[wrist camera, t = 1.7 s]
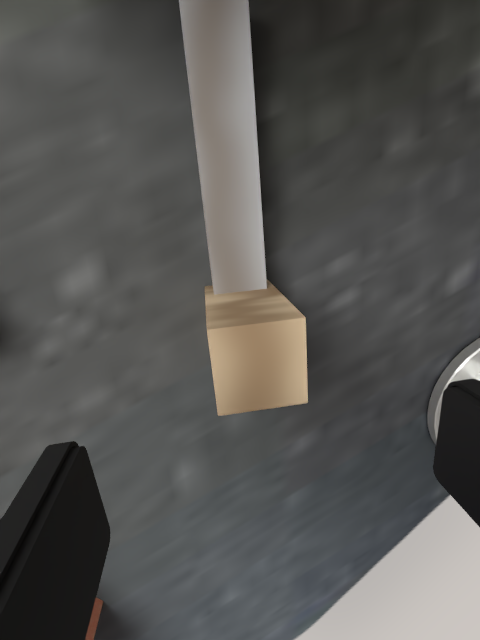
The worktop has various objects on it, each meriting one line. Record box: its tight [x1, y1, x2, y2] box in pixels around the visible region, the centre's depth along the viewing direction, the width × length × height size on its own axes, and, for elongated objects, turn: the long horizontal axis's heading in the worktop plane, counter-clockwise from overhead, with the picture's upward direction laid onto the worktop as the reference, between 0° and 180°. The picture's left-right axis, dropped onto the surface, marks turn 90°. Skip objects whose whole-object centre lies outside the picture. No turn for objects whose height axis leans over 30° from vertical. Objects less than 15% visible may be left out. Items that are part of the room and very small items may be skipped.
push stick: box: [179, 0, 308, 416], centre depth 15 cm, size 4×18×8 cm, turn 5°
